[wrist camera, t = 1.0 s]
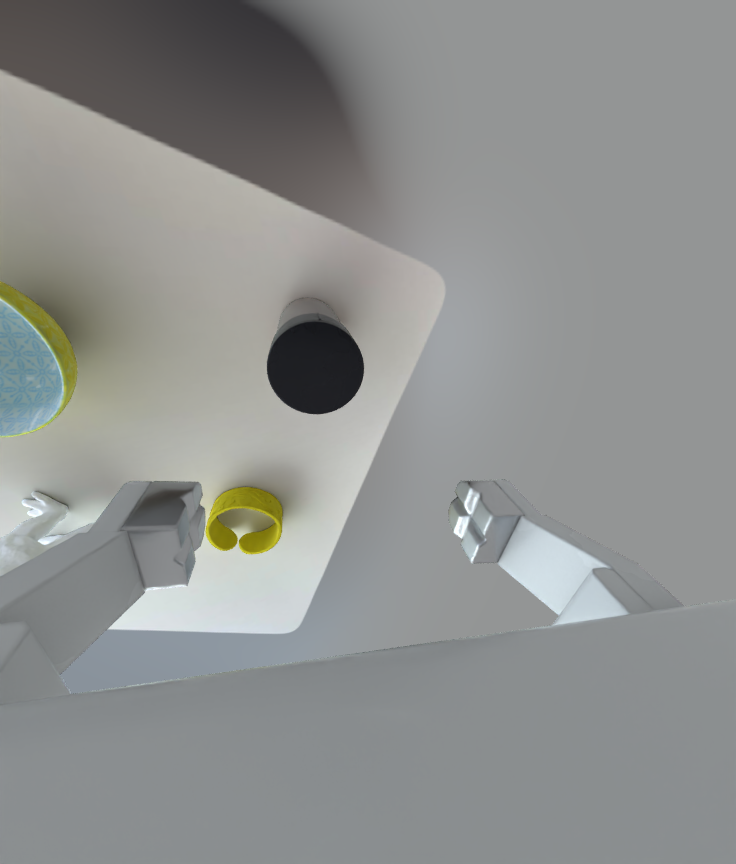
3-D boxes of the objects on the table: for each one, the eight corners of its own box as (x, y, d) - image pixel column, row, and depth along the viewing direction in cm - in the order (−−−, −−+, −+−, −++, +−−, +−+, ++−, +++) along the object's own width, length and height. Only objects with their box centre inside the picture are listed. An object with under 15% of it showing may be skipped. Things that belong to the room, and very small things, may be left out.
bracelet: (218, 480, 34) (212, 500, 32) (290, 493, 37) (290, 513, 34) (206, 528, 37) (199, 550, 34) (274, 537, 40) (272, 558, 37)
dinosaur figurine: (-6, 566, 34) (-182, 749, 22) (-62, 499, 29) (-330, 683, 17) (192, 542, 38) (140, 686, 25) (170, 479, 33) (94, 617, 21)
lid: (270, 306, 19) (266, 313, 16) (361, 317, 20) (370, 326, 18) (270, 394, 21) (267, 412, 19) (351, 399, 23) (357, 416, 20)
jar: (279, 293, 27) (269, 316, 17) (341, 301, 28) (366, 327, 18) (278, 355, 29) (269, 407, 19) (335, 360, 30) (355, 411, 21)
